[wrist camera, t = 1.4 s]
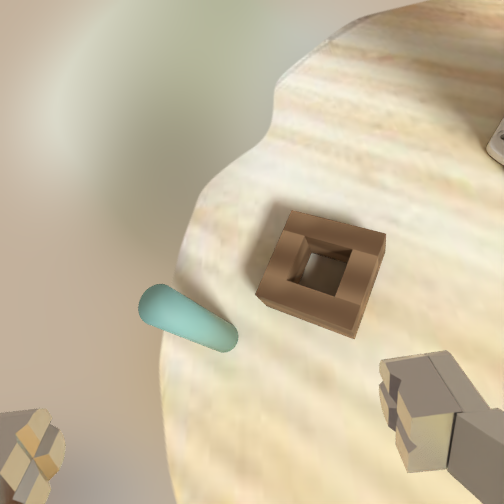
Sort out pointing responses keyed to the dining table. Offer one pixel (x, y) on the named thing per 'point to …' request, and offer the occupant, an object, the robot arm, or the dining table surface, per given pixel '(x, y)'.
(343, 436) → the dining table surface
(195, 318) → the peg
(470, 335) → the dining table surface
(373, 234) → the socket block
